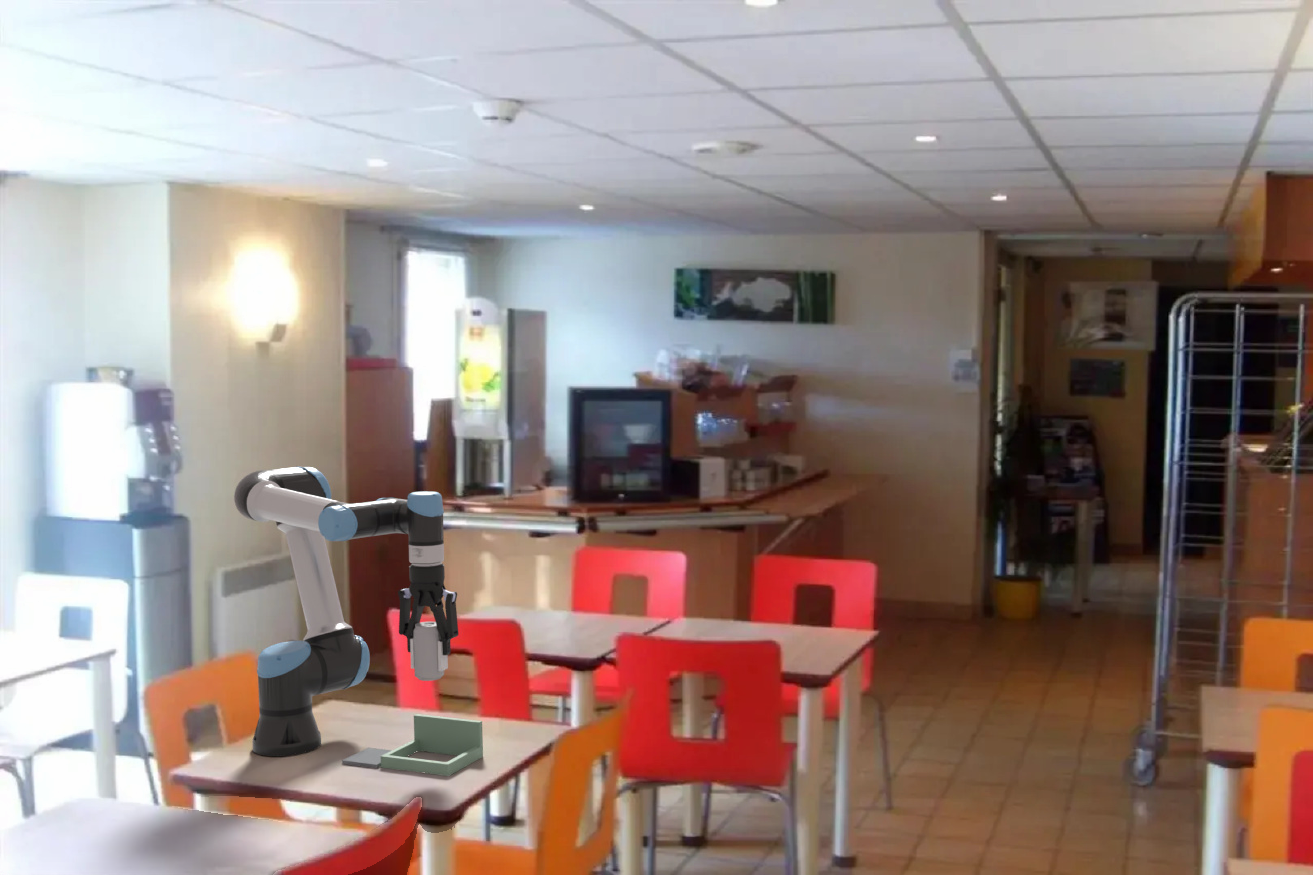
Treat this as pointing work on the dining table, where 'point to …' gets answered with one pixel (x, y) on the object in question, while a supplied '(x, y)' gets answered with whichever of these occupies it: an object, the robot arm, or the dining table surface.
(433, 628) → the beverage can
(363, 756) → the mat
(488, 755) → the dining table surface
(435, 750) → the green tray
